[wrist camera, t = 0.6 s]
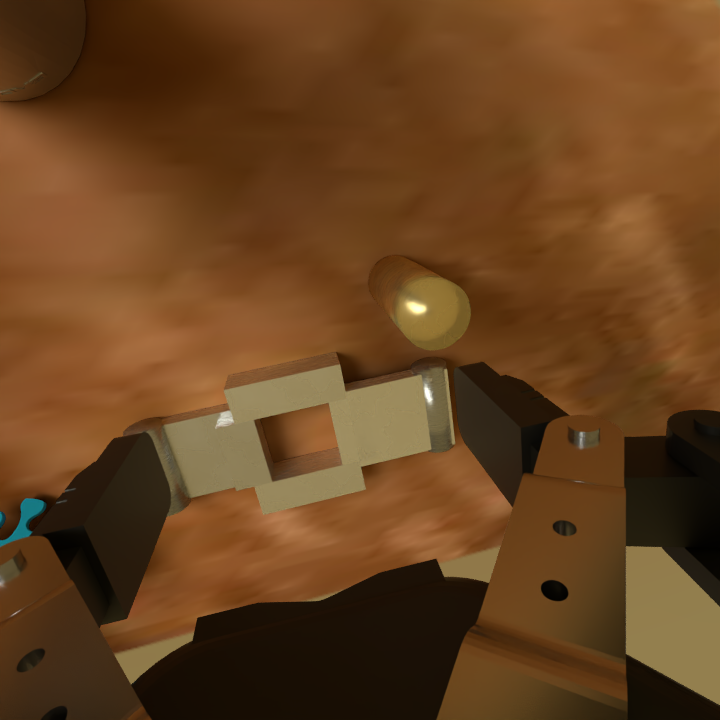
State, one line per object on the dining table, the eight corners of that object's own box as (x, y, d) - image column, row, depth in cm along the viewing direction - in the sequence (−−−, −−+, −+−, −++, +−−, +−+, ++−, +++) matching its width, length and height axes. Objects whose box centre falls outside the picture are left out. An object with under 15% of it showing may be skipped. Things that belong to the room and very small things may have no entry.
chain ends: (120, 399, 30) (105, 418, 27) (435, 330, 32) (448, 342, 29) (169, 517, 34) (160, 543, 31) (449, 449, 35) (461, 468, 33)
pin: (364, 260, 29) (396, 288, 21) (415, 250, 30) (467, 273, 21) (372, 312, 31) (406, 356, 22) (422, 301, 31) (473, 341, 23)
